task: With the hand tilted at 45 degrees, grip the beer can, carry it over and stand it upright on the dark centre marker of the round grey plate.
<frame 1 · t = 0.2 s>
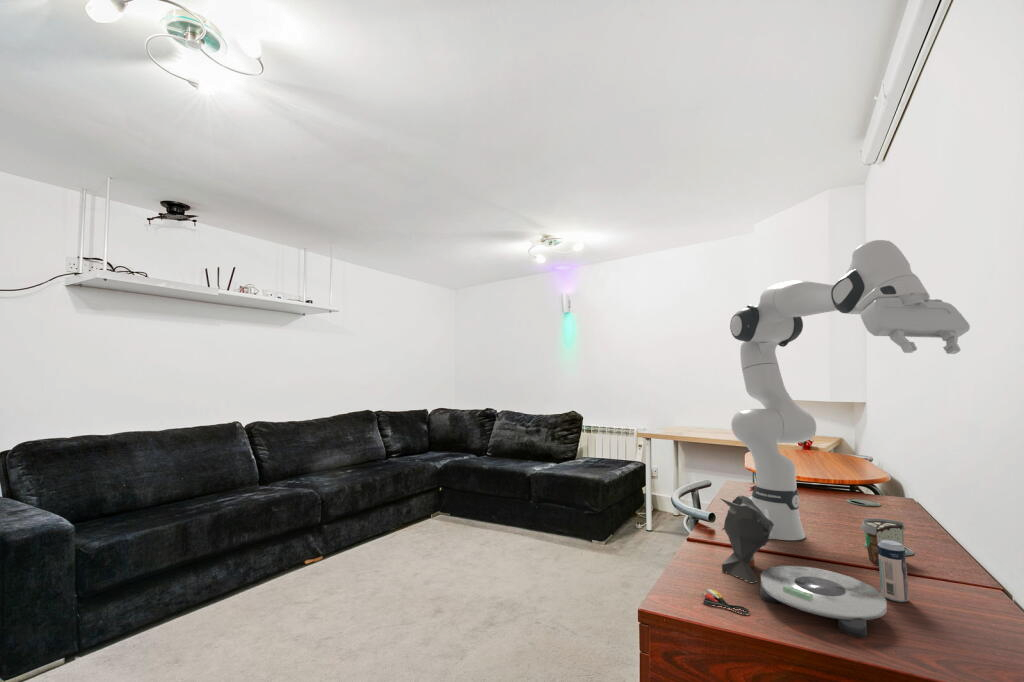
hand: (932, 352, 95), 54 cm above the table, tool tilted 30°, fingers open, 8 cm apart
composite cable: (723, 609, 98), on the table
round grey plate: (820, 608, 98), on the table
food container: (879, 560, 125), on the table
beer can: (895, 599, 102), on the table
dark grey angular piece: (746, 568, 119), on the table
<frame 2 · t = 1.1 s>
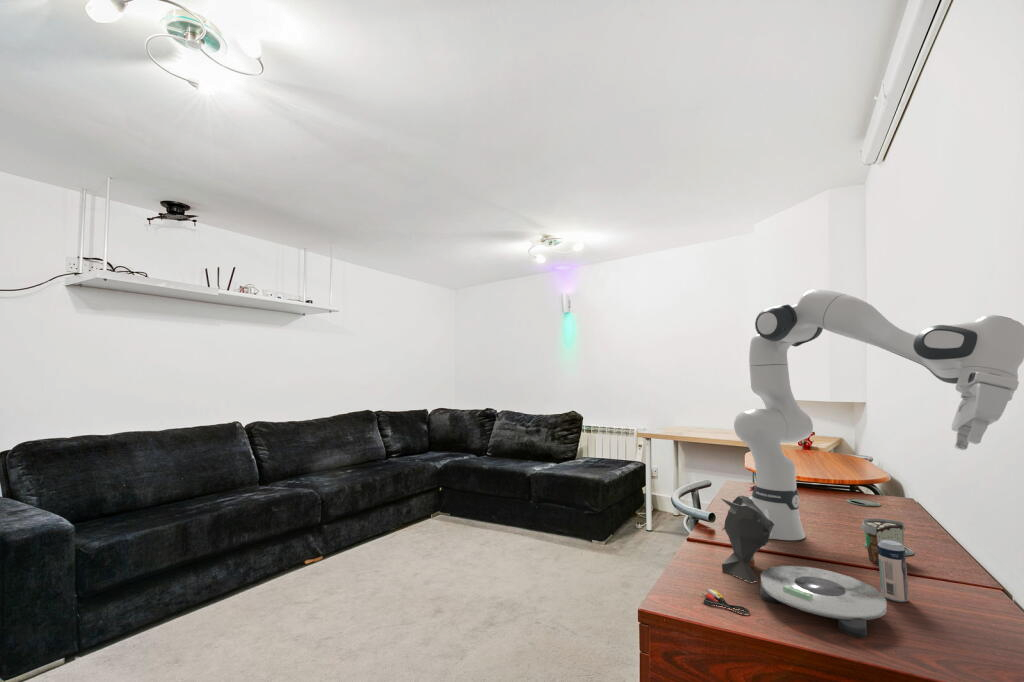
hand: (966, 446, 100), 34 cm above the table, tool tilted 25°, fingers open, 8 cm apart
nothing on the table moved.
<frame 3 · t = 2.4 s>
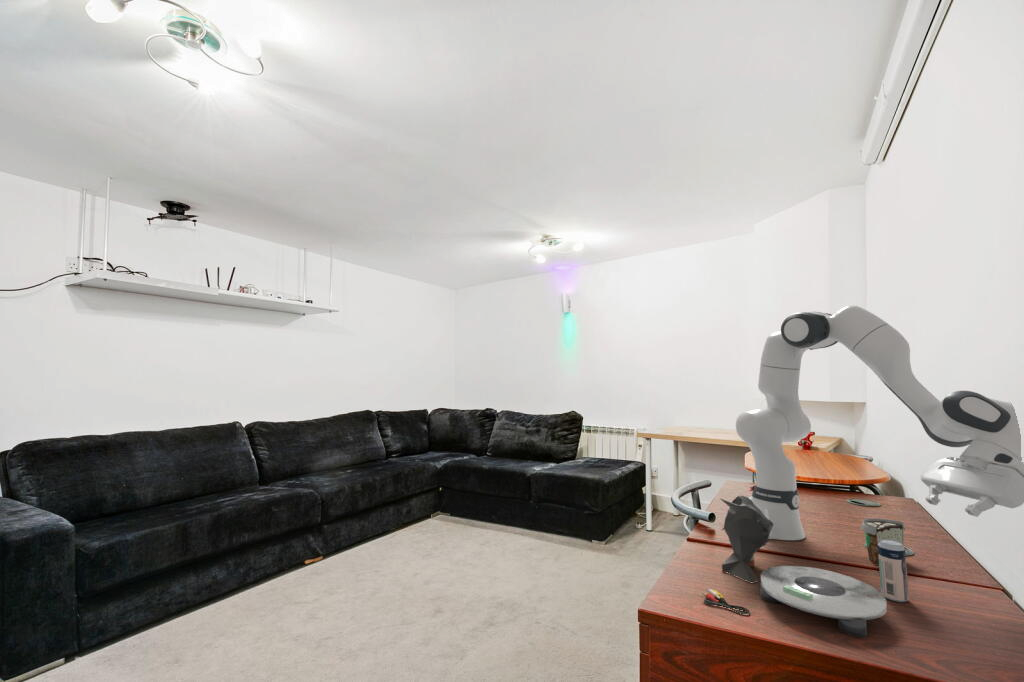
hand: (949, 507, 104), 19 cm above the table, tool tilted 45°, fingers open, 8 cm apart
nothing on the table moved.
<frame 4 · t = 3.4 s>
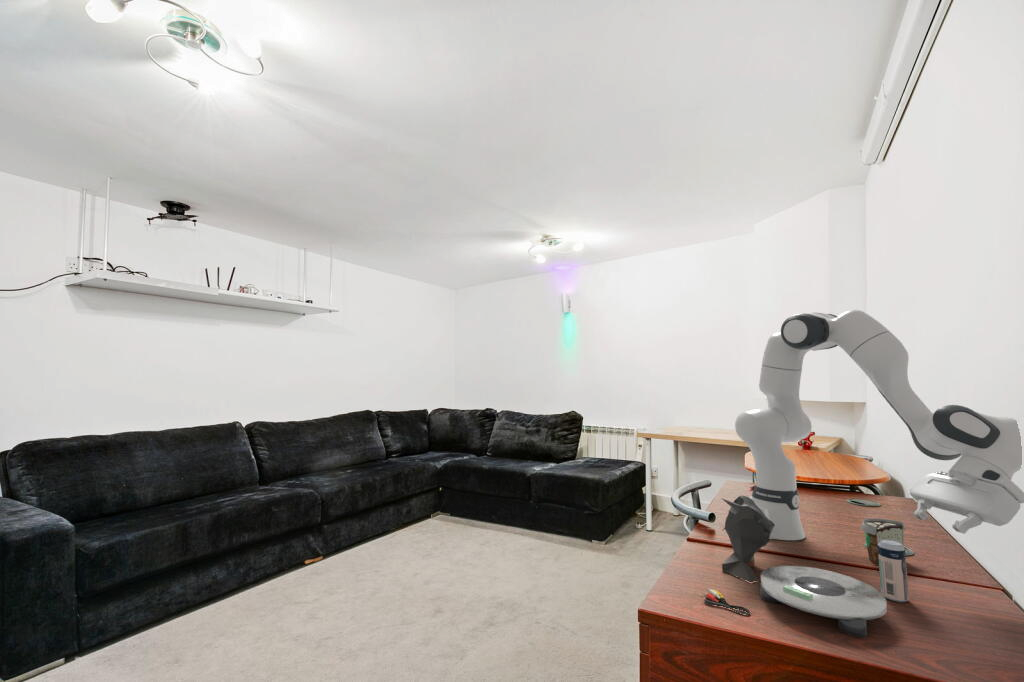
hand: (937, 523, 104), 16 cm above the table, tool tilted 45°, fingers open, 8 cm apart
nothing on the table moved.
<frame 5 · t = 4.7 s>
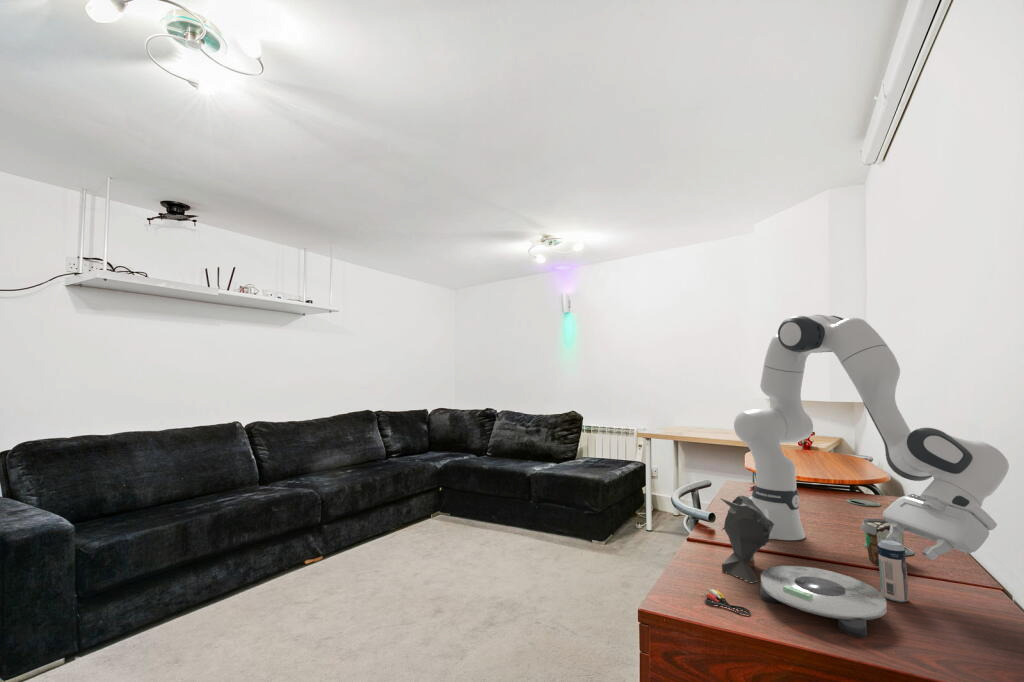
hand: (908, 549, 103), 11 cm above the table, tool tilted 45°, fingers open, 8 cm apart
nothing on the table moved.
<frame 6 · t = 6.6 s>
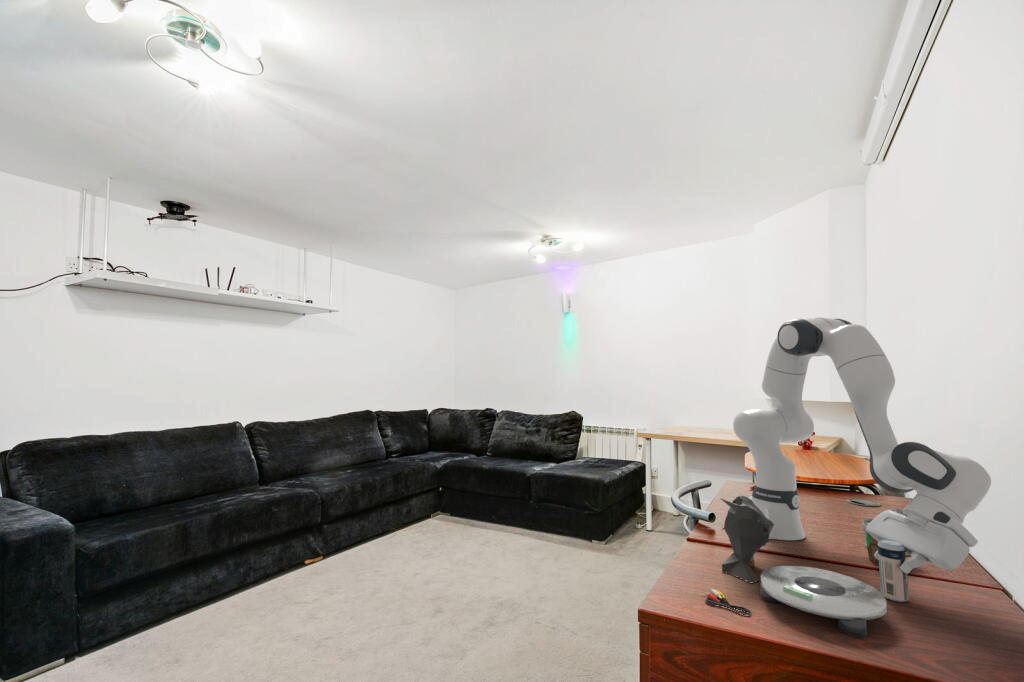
hand: (889, 564, 103), 7 cm above the table, tool tilted 45°, fingers closed on beer can, 5 cm apart
beer can: (894, 599, 102), on the table, touching gripper
everything else where it was.
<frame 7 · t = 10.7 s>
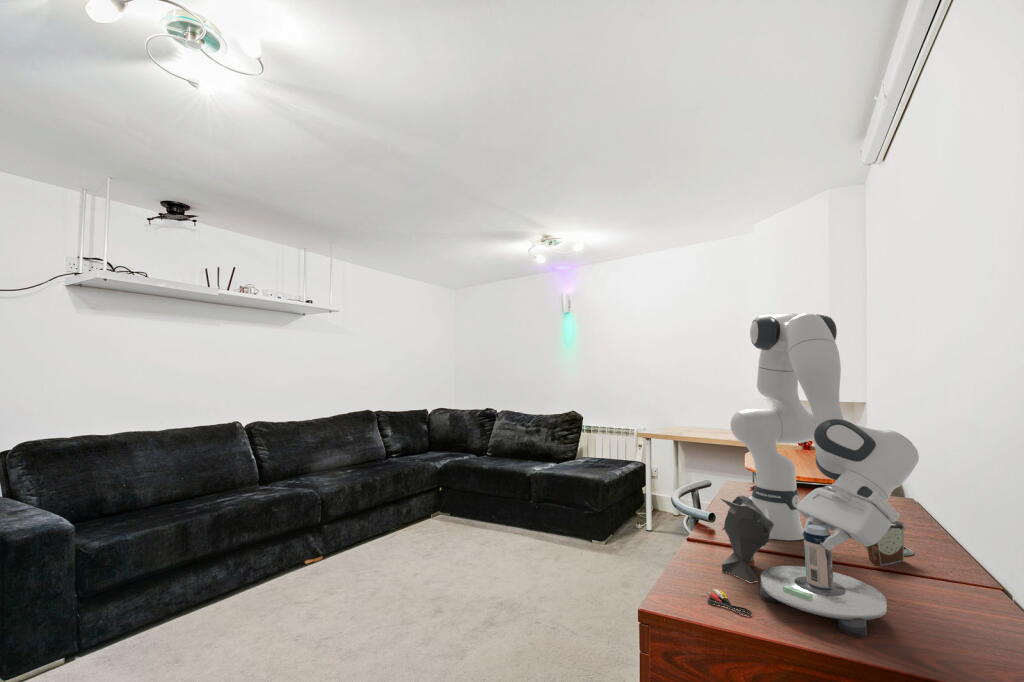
hand: (814, 542, 99), 14 cm above the table, tool tilted 45°, fingers closed on beer can, 5 cm apart
beer can: (819, 586, 98), point 5 cm above the table, touching gripper, round grey plate
everything else where it was.
when the fingers open (14 cm above the table, at t = 10.7 s): beer can stays where it is, resting on round grey plate.
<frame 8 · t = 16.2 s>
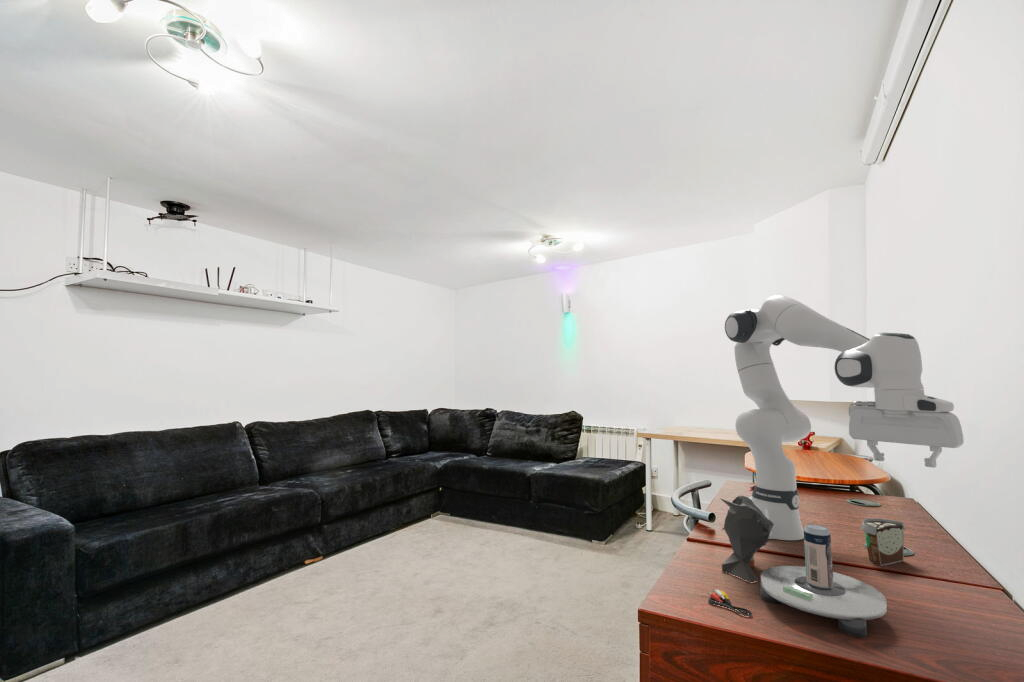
hand: (903, 463, 105), 29 cm above the table, tool pointing down, fingers open, 8 cm apart
beer can: (819, 586, 98), point 5 cm above the table, touching round grey plate
everything else where it was.
at the end: beer can inside the target area on the round grey plate (0.1 cm from its centre), point 4.5 cm above the round grey plate's base; beer can tilted 0°; the gripper is holding nothing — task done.
